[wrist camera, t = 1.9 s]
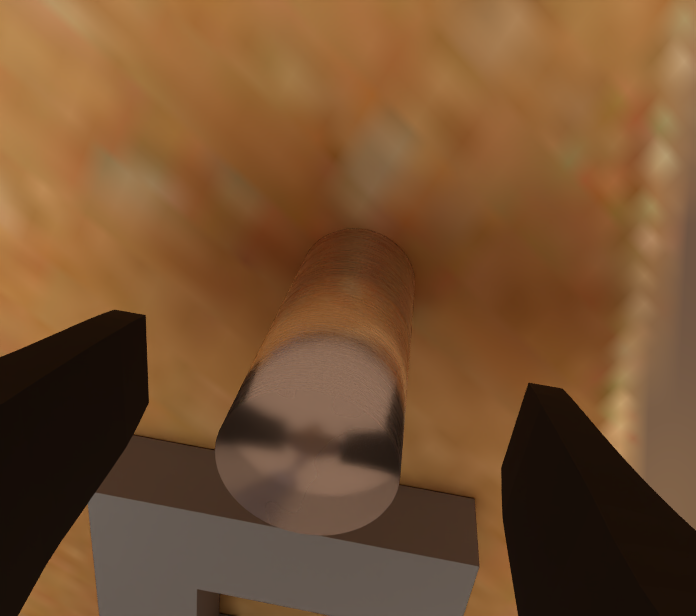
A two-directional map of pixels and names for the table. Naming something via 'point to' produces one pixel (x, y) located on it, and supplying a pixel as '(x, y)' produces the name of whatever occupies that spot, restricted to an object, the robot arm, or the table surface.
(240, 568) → the socket block
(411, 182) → the table surface
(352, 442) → the steel pin
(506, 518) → the robot arm
